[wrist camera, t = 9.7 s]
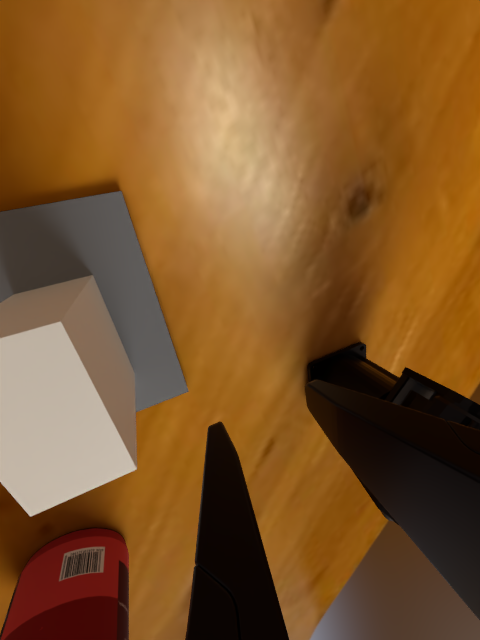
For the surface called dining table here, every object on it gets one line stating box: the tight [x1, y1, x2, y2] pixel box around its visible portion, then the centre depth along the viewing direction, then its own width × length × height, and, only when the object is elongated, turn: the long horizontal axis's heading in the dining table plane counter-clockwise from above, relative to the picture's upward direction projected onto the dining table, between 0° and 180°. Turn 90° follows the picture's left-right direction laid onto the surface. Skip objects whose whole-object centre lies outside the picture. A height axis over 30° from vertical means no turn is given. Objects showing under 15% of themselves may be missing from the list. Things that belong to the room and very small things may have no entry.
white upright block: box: [0, 275, 137, 517], centre depth 13 cm, size 4×7×8 cm, turn 10°
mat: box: [0, 191, 188, 412], centre depth 15 cm, size 16×14×1 cm
